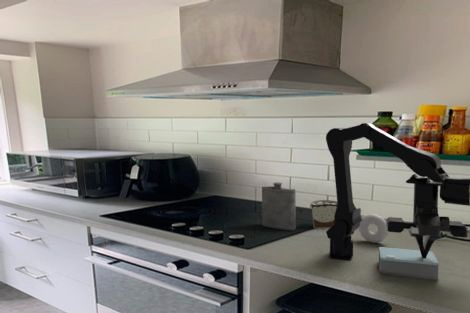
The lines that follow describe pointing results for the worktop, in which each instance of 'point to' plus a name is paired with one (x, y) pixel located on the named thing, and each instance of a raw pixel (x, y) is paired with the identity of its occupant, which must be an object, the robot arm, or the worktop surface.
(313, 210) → the food container
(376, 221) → the donut
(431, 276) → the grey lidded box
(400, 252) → the cover
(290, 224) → the flask
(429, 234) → the robot arm
